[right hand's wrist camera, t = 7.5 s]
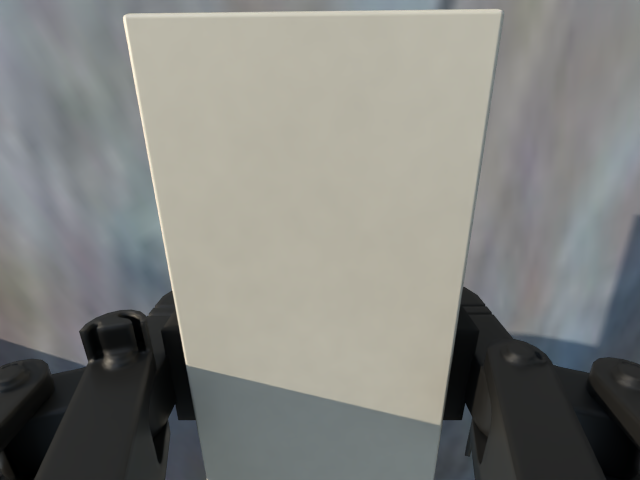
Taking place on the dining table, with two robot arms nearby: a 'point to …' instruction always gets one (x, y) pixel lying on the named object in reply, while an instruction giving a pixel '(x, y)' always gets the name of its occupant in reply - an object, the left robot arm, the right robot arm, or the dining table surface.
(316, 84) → the beam
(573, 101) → the dining table surface
